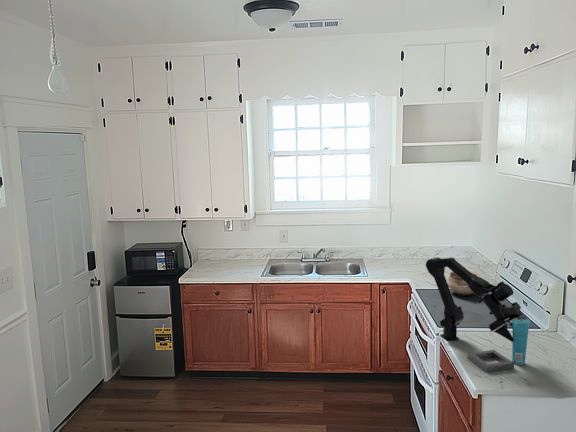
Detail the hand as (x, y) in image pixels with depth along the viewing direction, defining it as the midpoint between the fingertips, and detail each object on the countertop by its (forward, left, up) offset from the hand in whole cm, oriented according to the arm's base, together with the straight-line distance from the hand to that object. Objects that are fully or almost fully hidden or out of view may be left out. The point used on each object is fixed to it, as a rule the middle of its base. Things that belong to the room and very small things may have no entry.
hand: (518, 338), depth 204 cm
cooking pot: (-85, +29, -11) cm, 90 cm away
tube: (0, 0, -11) cm, 11 cm away
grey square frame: (-2, -12, -11) cm, 16 cm away
